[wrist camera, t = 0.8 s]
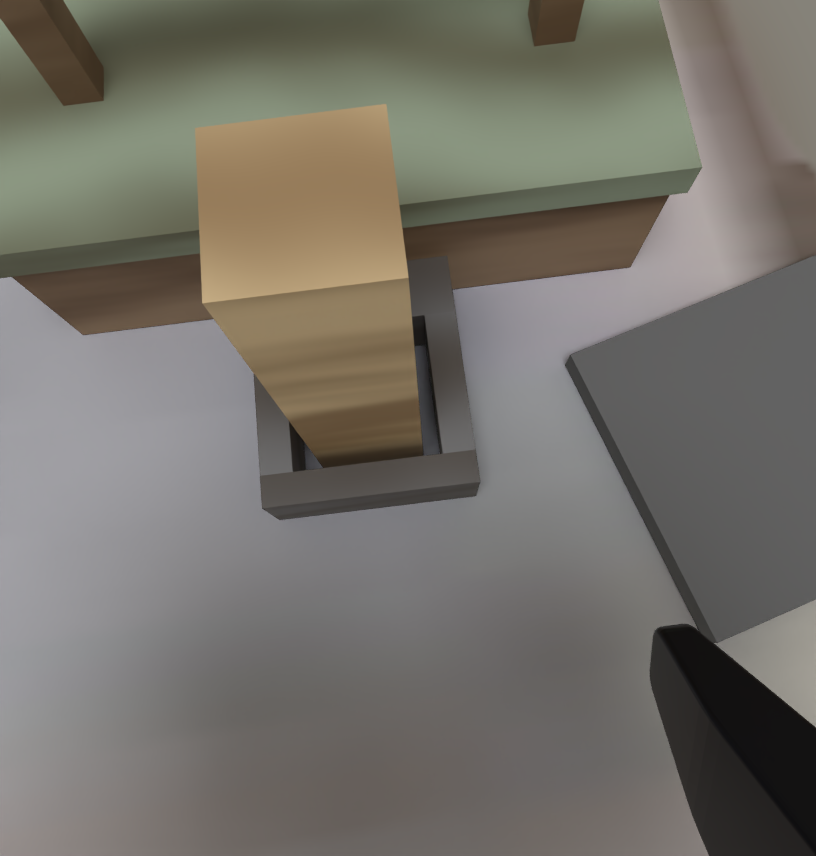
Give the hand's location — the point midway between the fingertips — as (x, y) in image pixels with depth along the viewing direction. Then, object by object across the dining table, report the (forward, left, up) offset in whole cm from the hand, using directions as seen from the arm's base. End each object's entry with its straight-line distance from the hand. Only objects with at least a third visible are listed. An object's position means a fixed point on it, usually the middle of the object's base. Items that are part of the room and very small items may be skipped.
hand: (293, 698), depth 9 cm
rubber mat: (+1, -15, -14) cm, 20 cm away
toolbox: (+13, -4, -14) cm, 20 cm away
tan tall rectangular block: (+7, -3, -14) cm, 16 cm away
